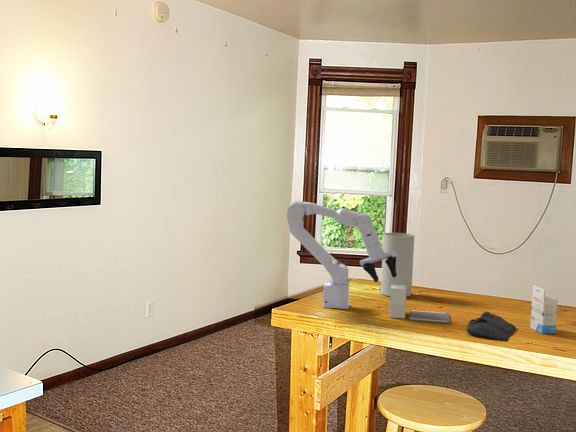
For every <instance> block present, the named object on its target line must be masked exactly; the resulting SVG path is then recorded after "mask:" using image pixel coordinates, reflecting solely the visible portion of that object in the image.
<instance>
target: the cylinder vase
mask: <svg viewBox="0 0 576 432" xmlns="http://www.w3.org/2000/svg"><path fill="white" fill-rule="evenodd" d="M382 235H383V236H382V237H383V239H382V248H383V251H384V253H386V252H391V251H396V254H397V256H396V274H397V276H396V277H394V278H393V277H392V274H391V272H390V269H389V267H388V265H387V264H386V262H385V261H386V260H387V259H384V260H381V278H380V279H381V281H380V293H381V295H383V296H385V297H389V298H390V288H391V285H392V284H394V285H406V286H407V294H406V298H408V297H409V298H410V296H412V292H413V291H412V290H413V270H414V269H413V268H414V251H415V250H414V249H415V235H414V234H413V233H407V232H406V233H404V232H385V233H383V234H382Z"/></svg>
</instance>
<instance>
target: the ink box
mask: <svg viewBox="0 0 576 432" xmlns="http://www.w3.org/2000/svg"><path fill="white" fill-rule="evenodd" d="M531 295H532V296H531V310H530V311H531V312H530V326H529V327H530V328H531V329H532V330H534V331H536V332H538V333H539V334H542V335H545V334H546V335H553V334H554V335H555V334H556V331H557V314H558V313H557V311H558V302H559V301H558V300H559V299H558V298H556V297H553V296H551V295H548V294H546V289H544V288H542V287H539V286H537V285H535V284H533V285H532V294H531Z"/></svg>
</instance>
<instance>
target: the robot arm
mask: <svg viewBox="0 0 576 432" xmlns="http://www.w3.org/2000/svg"><path fill="white" fill-rule="evenodd" d="M287 206H288V207H287V210H286V219H287V224H288V228H289V232H290V233H291V235H292V236H293V237H294V238H295V239H296V240H297V241H298V242H299V243H300V244H301V245H302V246H303V247H304V248H305V249H306V250H307V251H308V252H309V253H310V254H311V255H312V256H313V257H314V258H315V259H316V260H317V261H318V262H319V263H320V264H321V266H323V267H324V269H325V270H326V271H327V273H328V274H329V276H330V278H331V280H330V279H329V281H327V282H324V283H323V292H322V293H323V294H322V295H323V296H322V308H328V309H340V310H341V309H342V310H349V308H350V307H351V303H350V302H349V295H350V293H349V291H350V281H349V280H348V279H349V268H348V266H347V265H346V264H344V263H341V262H340V261H338V260H337V259H336V258H335V257H333V256H332V254H330V253H329V252H328V250H326V249H325V248H324V247H323V246H322V245H321V244H320V242H318V241H317V239H315V238H314V236H313V235H311V233H310V232H309V231H307V229H305V227H304V217H305V215H306V216H310V215H317V216H318V215H320V216H322V217H323V216H324V217H327V218H331V219H334V220H335V221H336V223H337V224H341V225H344V226H347V227H352V228H355V227H357V229H358V230H359V232H360V234H361V239H362V241H363V244H364V247H365V250H366V252H367V255H368V257H367V258H363V259H360V260H359V264H360V266H361V267H362V266H363V267H362V268H363V270H364V271H365V272H366V273H368V274H369V276H370V277H371V279H372V280H373V281H374V282H375V283H378V282H379V280H380V279H379V276H378V273H377V271H376V266H375V263H376V262H380V261H382V260H384V259H387V260H386V261H385V262H386V264H387V265H388V267H389V269H390V272H391V274H392V277H393V278H394V277H396V276H397V274H396V256H397V254H396V251H391V252H386V253H384V251H383V245H382V244H381V241H380V238H379V235H378V233H377V230H376V229H375V226H374V225H373V220H372V217H371V216H370V215H369V214H367V213H366V212H361V211H360V210H358V211H355V210H351V209H349V207H347V206H346V207H344V208H343V207H341V208H339V209H333V208H332V207H331V208H330V207H328V206H324V205H321V204H318V203H315V202H314V203H313V202H309V201H301V200H295V201H293V202H291V203H290V204H289V205H287Z"/></svg>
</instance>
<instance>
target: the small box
mask: <svg viewBox="0 0 576 432" xmlns="http://www.w3.org/2000/svg"><path fill="white" fill-rule="evenodd" d="M406 294H407V286H406V285H394V284H392V285H391V288H390V297H389V314H388V315H389V316H388V317H389V318H393V319H396V318H397V319H406V307H407V297H406Z"/></svg>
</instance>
